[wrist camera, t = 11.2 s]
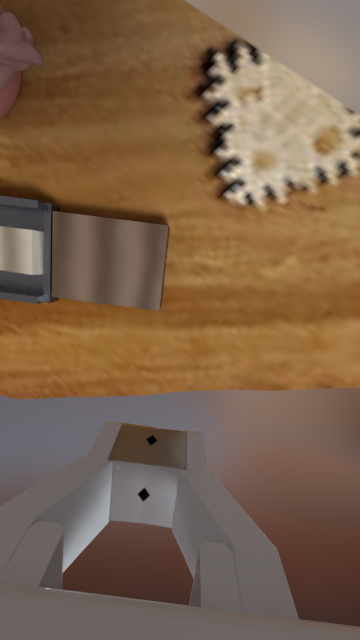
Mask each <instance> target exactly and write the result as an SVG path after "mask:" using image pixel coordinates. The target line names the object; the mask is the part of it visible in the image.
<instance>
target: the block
mask: <svg viewBox="0 0 360 640" xmlns="http://www.w3.org/2000/svg"><path fill="white" fill-rule="evenodd" d="M0 270H3V271H9V272H16V273H23V274H29V275H40V274H44V232H41V231H35V230H28V229H20V228H11V227H3V226H0Z"/></svg>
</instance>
